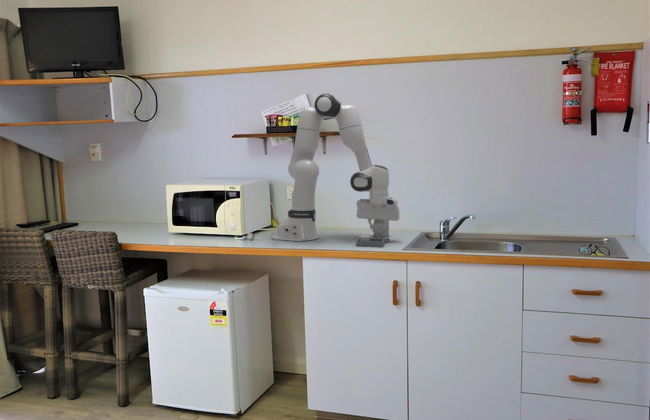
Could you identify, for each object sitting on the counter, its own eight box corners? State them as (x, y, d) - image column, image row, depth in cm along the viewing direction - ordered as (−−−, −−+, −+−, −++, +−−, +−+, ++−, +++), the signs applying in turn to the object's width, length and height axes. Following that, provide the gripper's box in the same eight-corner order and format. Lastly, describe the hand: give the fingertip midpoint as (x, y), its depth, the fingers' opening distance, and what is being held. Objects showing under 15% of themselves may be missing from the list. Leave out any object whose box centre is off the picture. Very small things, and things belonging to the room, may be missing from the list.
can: (387, 238, 304) (388, 214, 303) (372, 238, 305) (372, 214, 304) (389, 236, 311) (389, 212, 310) (374, 235, 313) (374, 212, 311)
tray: (357, 243, 291) (357, 241, 291) (360, 239, 301) (360, 237, 301) (387, 244, 288) (387, 242, 288) (389, 240, 299) (389, 238, 298)
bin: (356, 247, 280) (356, 240, 280) (359, 244, 289) (359, 237, 289) (382, 248, 278) (382, 241, 278) (384, 245, 287) (384, 238, 286)
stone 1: (360, 245, 282) (360, 236, 282) (361, 244, 286) (361, 235, 286) (369, 245, 282) (369, 237, 281) (370, 244, 286) (370, 235, 285)
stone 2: (372, 232, 293) (372, 223, 293) (373, 231, 297) (374, 222, 296) (380, 232, 292) (381, 224, 292) (382, 231, 296) (382, 223, 295)
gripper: (355, 199, 292) (354, 228, 294) (399, 201, 287) (397, 231, 289) (358, 198, 298) (357, 226, 300) (400, 200, 294) (399, 229, 295)
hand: (377, 228), depth 294 cm, fingers closed on stone 2, 4 cm apart
